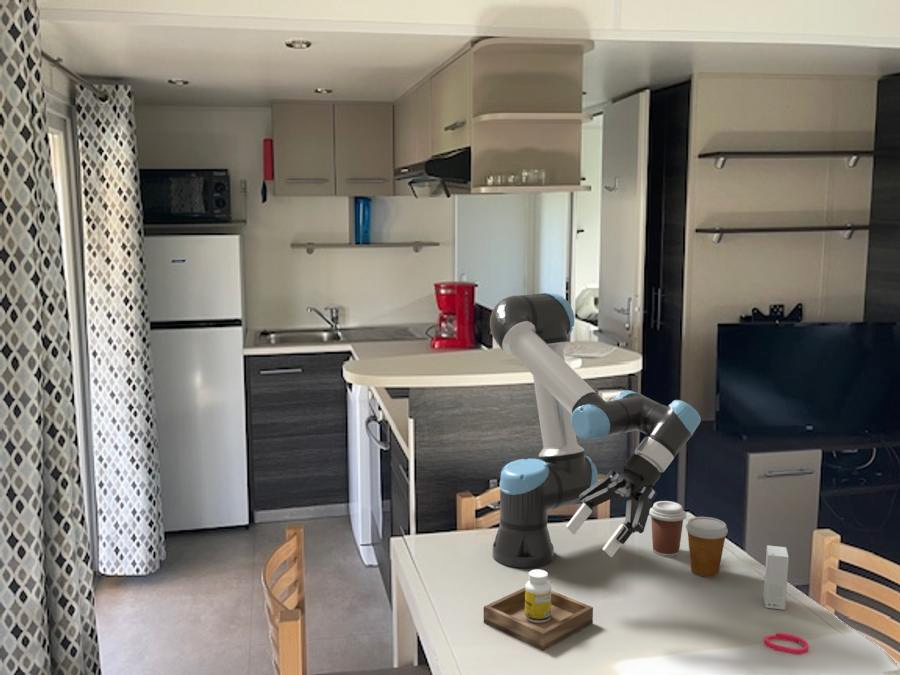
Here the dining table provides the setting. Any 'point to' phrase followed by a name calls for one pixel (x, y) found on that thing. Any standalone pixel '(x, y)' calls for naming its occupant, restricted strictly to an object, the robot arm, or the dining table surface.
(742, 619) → the dining table surface
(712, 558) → the disposable coffee cup
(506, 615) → the walnut tray
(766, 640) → the fitness band
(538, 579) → the supplement bottle
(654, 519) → the coffee cup
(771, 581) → the skincare box
